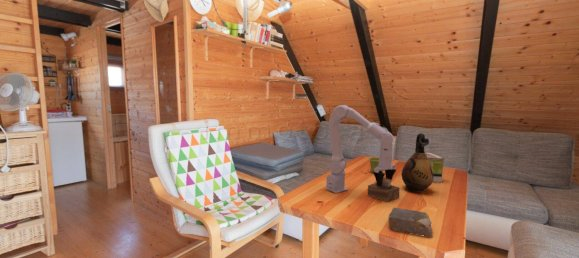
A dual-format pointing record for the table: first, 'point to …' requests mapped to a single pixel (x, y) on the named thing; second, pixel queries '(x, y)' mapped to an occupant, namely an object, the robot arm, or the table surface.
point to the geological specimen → (410, 222)
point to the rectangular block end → (386, 183)
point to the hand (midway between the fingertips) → (383, 184)
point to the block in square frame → (383, 192)
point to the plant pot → (374, 163)
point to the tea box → (436, 166)
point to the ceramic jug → (418, 168)
